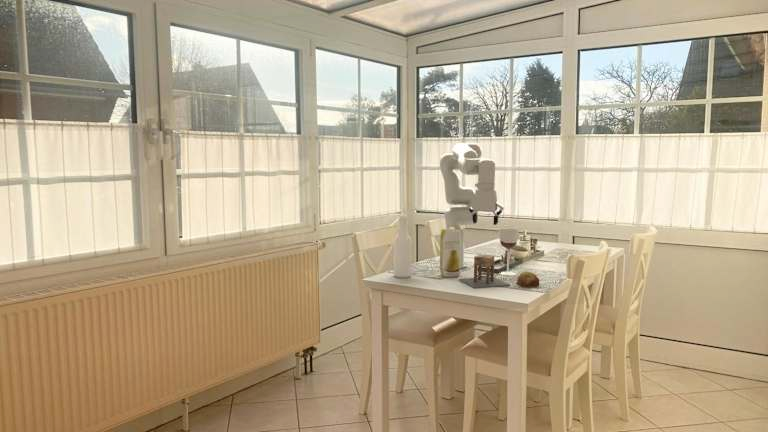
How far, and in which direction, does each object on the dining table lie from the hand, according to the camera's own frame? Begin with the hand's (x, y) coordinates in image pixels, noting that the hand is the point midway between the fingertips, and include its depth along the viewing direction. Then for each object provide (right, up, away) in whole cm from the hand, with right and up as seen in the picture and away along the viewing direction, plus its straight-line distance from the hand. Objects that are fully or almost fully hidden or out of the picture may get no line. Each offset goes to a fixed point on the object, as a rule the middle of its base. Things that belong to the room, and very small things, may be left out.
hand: (485, 223), depth 260 cm
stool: (0, -27, +3) cm, 27 cm away
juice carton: (-14, -26, +19) cm, 35 cm away
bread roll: (+20, -28, -1) cm, 35 cm away
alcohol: (-37, -26, +17) cm, 49 cm away
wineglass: (+16, -26, +24) cm, 38 cm away
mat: (0, -28, +3) cm, 28 cm away
